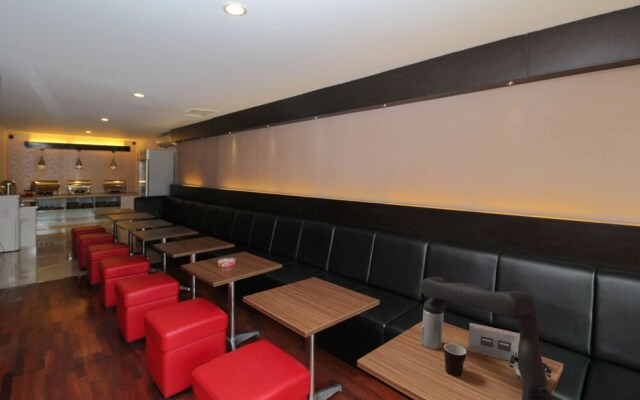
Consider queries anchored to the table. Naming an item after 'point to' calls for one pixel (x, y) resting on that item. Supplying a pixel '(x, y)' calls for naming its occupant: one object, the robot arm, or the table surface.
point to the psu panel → (493, 341)
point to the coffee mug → (454, 359)
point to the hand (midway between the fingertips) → (526, 356)
